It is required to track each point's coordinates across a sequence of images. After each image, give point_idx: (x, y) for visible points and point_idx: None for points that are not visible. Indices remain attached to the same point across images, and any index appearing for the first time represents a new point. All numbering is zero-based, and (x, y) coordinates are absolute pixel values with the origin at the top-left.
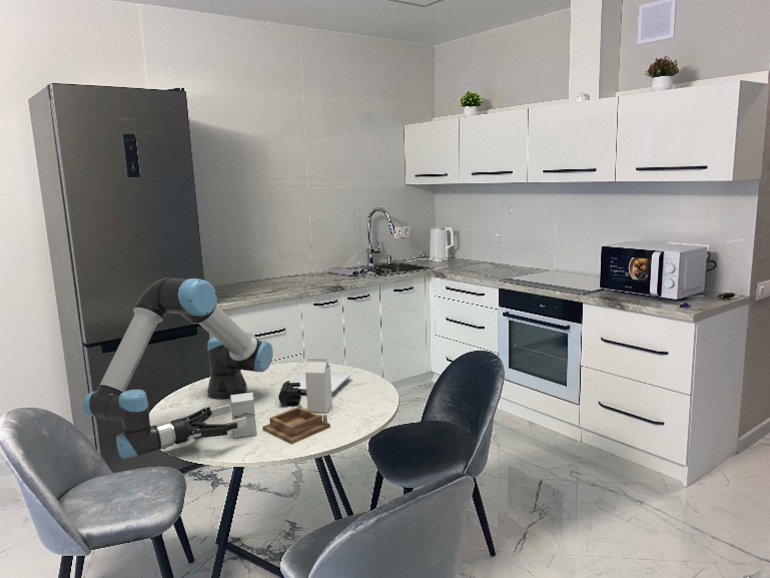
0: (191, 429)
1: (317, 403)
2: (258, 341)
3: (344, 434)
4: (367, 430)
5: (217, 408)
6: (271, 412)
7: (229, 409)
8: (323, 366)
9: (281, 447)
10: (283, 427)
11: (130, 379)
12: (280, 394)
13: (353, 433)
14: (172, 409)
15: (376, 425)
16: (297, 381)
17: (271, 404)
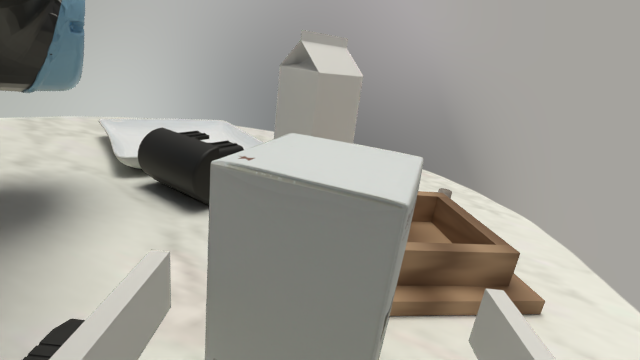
0: None
1: None
2: None
3: (503, 226)
4: (494, 204)
5: (102, 333)
6: (203, 236)
7: (165, 289)
8: (349, 59)
9: (571, 351)
10: (460, 265)
11: None
12: (201, 165)
13: (503, 218)
14: None
15: (473, 192)
16: (119, 143)
17: (142, 213)
